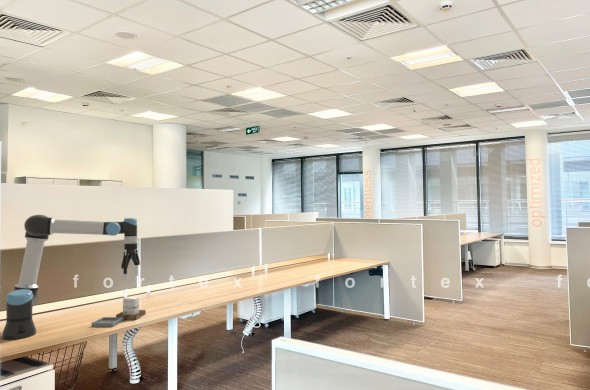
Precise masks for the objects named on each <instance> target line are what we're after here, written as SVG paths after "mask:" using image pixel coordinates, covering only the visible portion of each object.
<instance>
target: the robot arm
mask: <svg viewBox="0 0 590 390" xmlns="http://www.w3.org/2000/svg"><path fill="white" fill-rule="evenodd" d="M23 226H24V230H25V234H24V238H25V240H26V244H25V250H24V253H23V261H22V263H21V264H22V265H21V270H20V274H19V281H18V283H16V284H15V285H14V288H13V289H14V290H12V291H9V292H8V293H7V294H6V297H5V298H6V299H5V301H6V304H5V305H6V307H5V308H6V322H5V326H4V329H3V331H2V335H1V337H2V339H3V340H9V341H10V340H20V339H25V338H29V337H33V336H34V335H36V334H37V328H36V325H35V323H34V320H33V307H34V306H35V305H36V304H37V302H38V298H39V296H38V295H39V288H40V286H39V284H38V276H39V272H40V267H41V266H40V265H41V261H42V256H43V251H44V247H45V242H46V241H48V240H49V236H52V235H53V234H62V235H63V234H67V235H68V234H69V235H73V234H74V235H95V236H97V235H98V236H99V235H100V236H115V237H116V236H117V235H120V234H121V235H124V236H123V243H124V244H123V245H124V246H123V247H124V250H126V251H123V257H122V261H121V266H120V269H123V270H122V271H123V273H122V274H123V275H122V276H123V277H122V278H123V280H129V268H128V267H129V264H130V262H131V261H132V262H133V277H134V276H135V277H136V276H137V277H138V276H139V266H141V261H140V256H139V252H138V251H139V250H138V243H137V242H138V220H137V219H136V217H126V218H124V219H123V221H95V220H94V221H91V220H73V219H72V220H70V219H69V220H68V219H67V220H66V219H55V218H54V217H48V216H46V215H44V214H34V215H32V216H29V217H28V218H27V219H25V221H24V225H23Z"/></svg>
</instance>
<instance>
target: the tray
mask: <svg viewBox="0 0 590 390" xmlns="http://www.w3.org/2000/svg"><path fill="white" fill-rule="evenodd" d="M124 321H125V320H124V317H116V316H103V317H100V318H99V319H96V320H95V321H92V322H91V328H92V327H93V328H95V327H96V328H99V327H100V328H101V327H104V328H105V327H106V328H109V327H111V328H114V327H115V326H117V325H118V324H121V323H122V322H124Z"/></svg>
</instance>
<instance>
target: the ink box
mask: <svg viewBox="0 0 590 390" xmlns="http://www.w3.org/2000/svg"><path fill="white" fill-rule="evenodd" d="M139 310H140V297H131V296H128V297H127V296H126V297H123V298H122V312H123V315H136V314H138V313H139Z"/></svg>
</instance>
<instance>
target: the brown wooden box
mask: <svg viewBox="0 0 590 390" xmlns="http://www.w3.org/2000/svg"><path fill="white" fill-rule="evenodd" d="M145 315H146V309H139V313H138V314H136V315H123V311H121V312H119V313H116V314H115V317H124V321H137V320H139V319H140V318H142V317H144V316H145Z"/></svg>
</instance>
